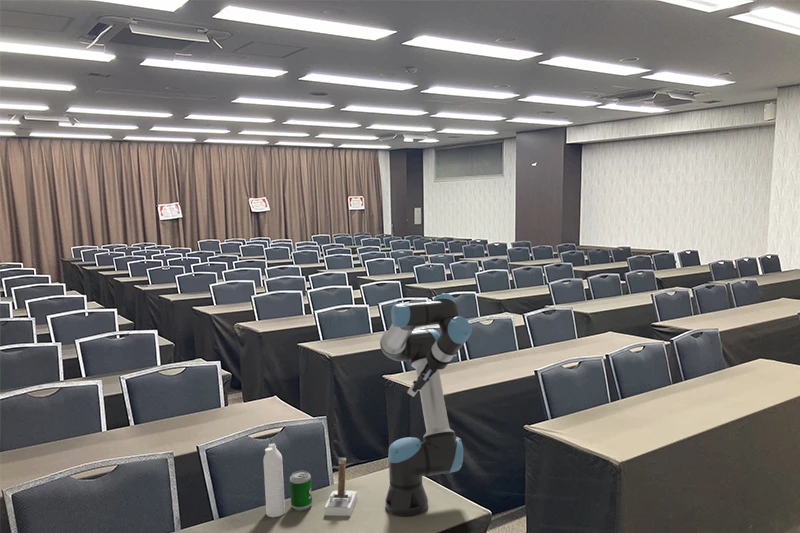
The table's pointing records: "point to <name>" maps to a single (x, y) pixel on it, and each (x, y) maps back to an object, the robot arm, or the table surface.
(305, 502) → the soda can
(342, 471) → the lever
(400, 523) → the table surface
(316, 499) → the table surface
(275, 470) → the water bottle
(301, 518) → the table surface
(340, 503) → the switch box
